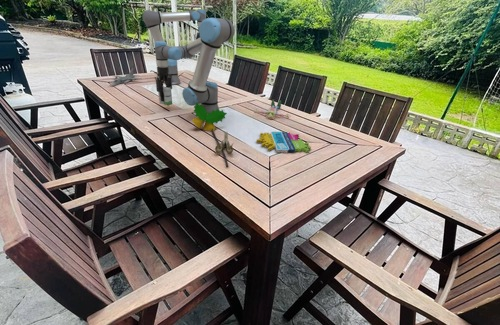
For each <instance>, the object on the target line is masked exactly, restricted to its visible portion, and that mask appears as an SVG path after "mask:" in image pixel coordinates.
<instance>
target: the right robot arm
mask: <svg viewBox="0 0 500 325" xmlns="http://www.w3.org/2000/svg"><path fill="white" fill-rule="evenodd" d="M235 32H236V29H235V25H234V24H233V22H232V21H231V20H229V19H227V18H217V17H206V19H204V20H203V21H202V22H201V24H200V27H199V31H198V33H200V38H198V39H196V38H195V39H194V40H192V41H191V42H189V43H186V44H185V45H177V46H170V45H168V44H167V42H166V41H164V42H163V41H156V42H155V41H154V52H155V62H156V72H157V73H158V74H157V76H154V80H155V87H156V92H157V93H158V92H159V93H160V97H161V101H163V102H165V101H164V92H163V86H164V85H165V87H168V88H171V90H173V85H172V80H171V78H172V75H169V74H168V73H169V68H168V59H172V60H177V61H179V60H181V59H191V58H193V57H195V56H196V55H197V54H199V55H198V58H197V62H196V65H195V69H194V72H193V77H192V79H191V80H189V81H188V85H187V86H186V87H184V88H183V89H182V93H181V95H182V99H183V101H184V103H185V104H187V105H188V106H190V107H194V106H196V102H197V103H198V104H201V106H204V109H206V112H208V113H211V112H212V110H214V111H216V110H217V109H219V111H221V110H220V108H219V102H218V99H219V98H218V97H219V87H218V84H217V82H214V81H210V80H209V81H208V79H209V76H210V72H211V70H212V66H213V64H214V60H215V58H216V54H217V51H218V50H220V49H221V47H222V44H224V43H227V42H229V41H231V40H232V39H233V38H234V36H235ZM208 113H207V115H208ZM214 131H215V130H213V129H212V131H211V133H212V135H213V138H214V139H215V142H217V144H218V145H220V144H221V142H220V141H219V139H218V138H217V136H216V134H215V132H214ZM221 153H222V155H223V159H224V162H225V166H226V168H229V163H228V159H227V156H226V154H225V151H224V149H223V150H222V151H221Z"/></svg>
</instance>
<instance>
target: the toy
mask: <svg viewBox="0 0 500 325" xmlns="http://www.w3.org/2000/svg"><path fill="white" fill-rule="evenodd" d="M281 107H282V100H280V99H279V101H278V102H277V104H276V103H275V99H272V100H271V103H270V108H268V110H267V111H264V110H260V111H259V110H258V109H257V108H256V109H255V110H252V111H253V114H263V115H265V118H267V119H269V120H273V119H276V116H278V117H284V118H287V119H290V117H291V115H290V114H289V113H287V114H282V113H280V112H277V111H278V110H280V109H281Z"/></svg>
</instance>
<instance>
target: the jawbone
mask: <svg viewBox="0 0 500 325" xmlns="http://www.w3.org/2000/svg"><path fill="white" fill-rule="evenodd" d="M223 135H224V136H223V140H222V139H221V142H220V145H218V143H217V141H215V144H216V146H215V148H214V149H215V152H214V154H215V155H217V156H218V155H220V153H222V150H223V151H224V150H226V152H227V153H228V155H229V156H233V155H234V154H233V153H234V148H233V144H234V143H230V140H228V139H229V138H228V137H229V136H228V135H229V133H228V131H226V132H224V134H223Z"/></svg>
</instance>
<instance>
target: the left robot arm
mask: <svg viewBox="0 0 500 325" xmlns="http://www.w3.org/2000/svg"><path fill="white" fill-rule="evenodd" d="M206 16H207V14H206V10H205V9H203V8H202V9H200V8H198V9H197V10H185V11H167V12H166V11H165V12H161V11H159V10H158V11H157V10H155V11H154V10H151V9H148V10H147V9H146V10H144V11H143V12H142V16H141V18H142V21H143V22H144V25H145V26H146V29H147V30H149V31H150V34H151V36H152V39H153V41H154V43H155V42H156V41H163V42H165V40H164V37H163V35H162V33H161V29H160V25H162V24H163V23H175V22H189V21H191V22H192V21H195V22H196V21H197V31H198V32H196V37H195V40H196V39H198V38H200V33H199V27H200V24H201V22H202V21H203V20H204V19H207V17H206ZM168 68H169V73H168V74H169V75H172V78H171V80H172V86H175V85H176V86H177V85H180V84H181V80H180V79H181V78H180V77H179V71H178V70H179V69H178V60H172V59H168ZM149 72H150V73H152V72H153V73H154V74H157V73H158V72H157V71H154V70H150V71H149Z"/></svg>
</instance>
